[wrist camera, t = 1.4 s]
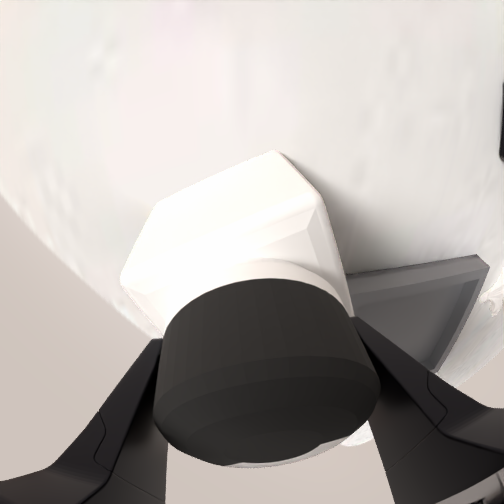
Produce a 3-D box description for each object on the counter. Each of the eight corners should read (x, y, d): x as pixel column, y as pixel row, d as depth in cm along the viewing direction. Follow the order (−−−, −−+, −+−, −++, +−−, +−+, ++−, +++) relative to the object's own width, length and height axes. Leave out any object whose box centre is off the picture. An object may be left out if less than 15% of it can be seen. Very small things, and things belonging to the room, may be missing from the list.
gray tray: (476, 254, 19) (489, 266, 18) (430, 359, 27) (437, 371, 25) (336, 276, 19) (347, 295, 17) (316, 389, 26) (321, 406, 24)
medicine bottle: (153, 202, 15) (64, 410, 5) (277, 146, 14) (420, 304, 4) (212, 297, 18) (216, 487, 8) (317, 255, 18) (403, 436, 7)
